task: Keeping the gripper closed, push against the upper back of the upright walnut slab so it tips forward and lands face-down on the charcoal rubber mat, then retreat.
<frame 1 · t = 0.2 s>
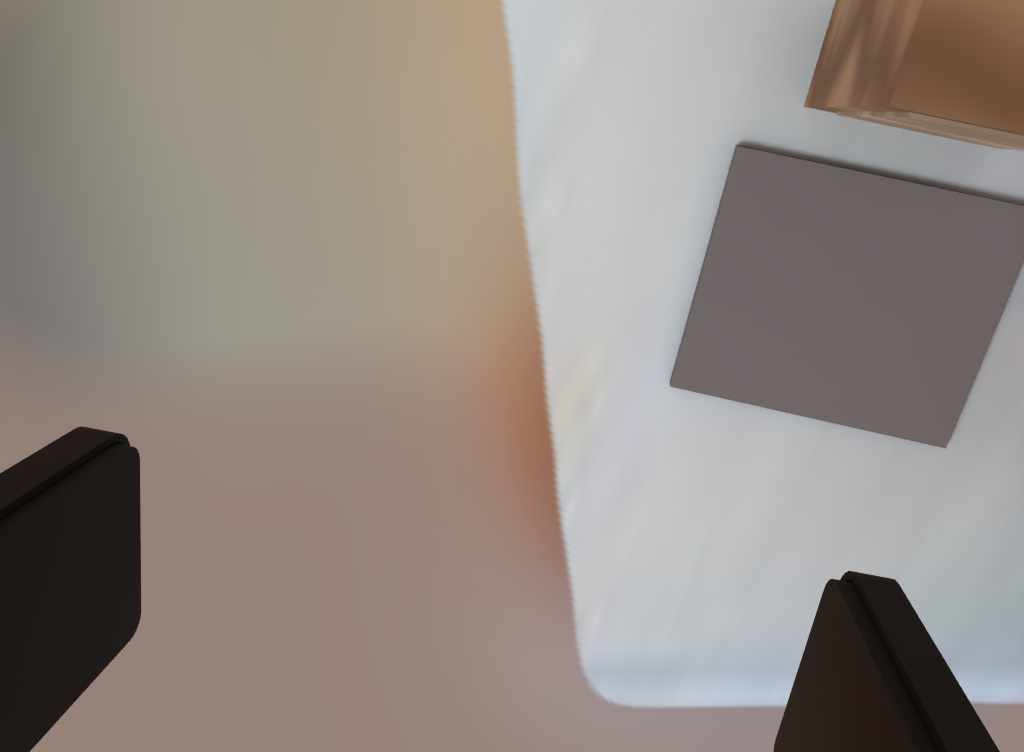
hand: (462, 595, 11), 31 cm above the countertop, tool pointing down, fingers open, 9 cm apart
mat: (842, 300, 39), on the countertop
slab: (920, 74, 36), on the countertop
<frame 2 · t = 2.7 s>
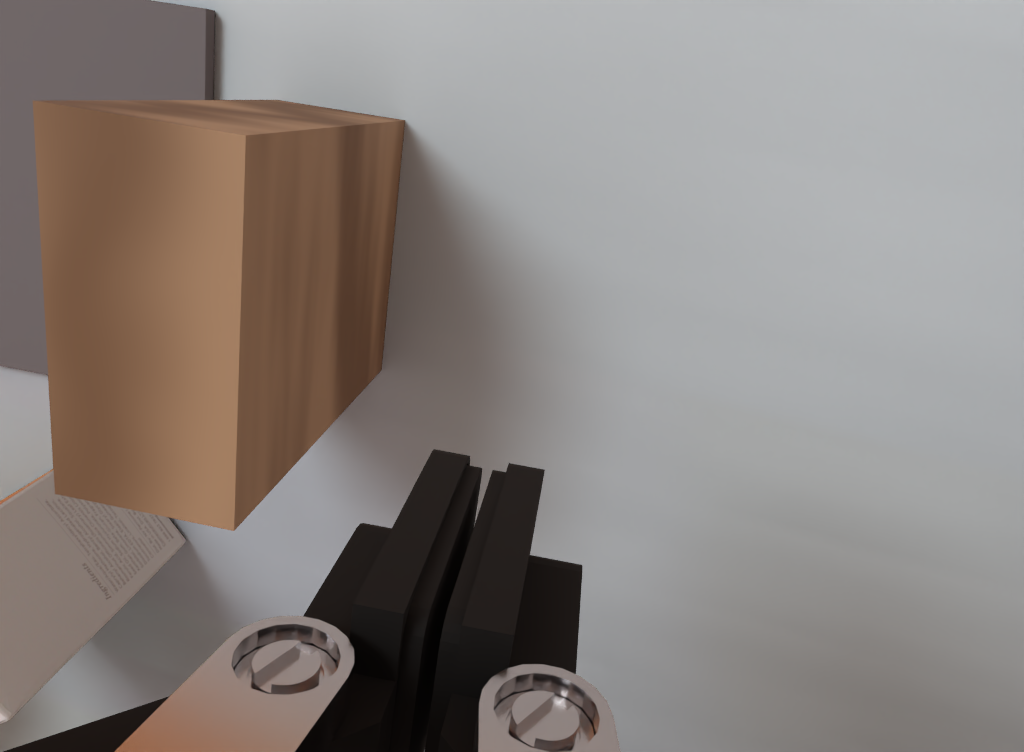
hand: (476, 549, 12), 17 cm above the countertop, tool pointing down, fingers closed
mat: (56, 193, 30), on the countertop
slab: (331, 241, 29), on the countertop
small box: (87, 523, 35), on the countertop
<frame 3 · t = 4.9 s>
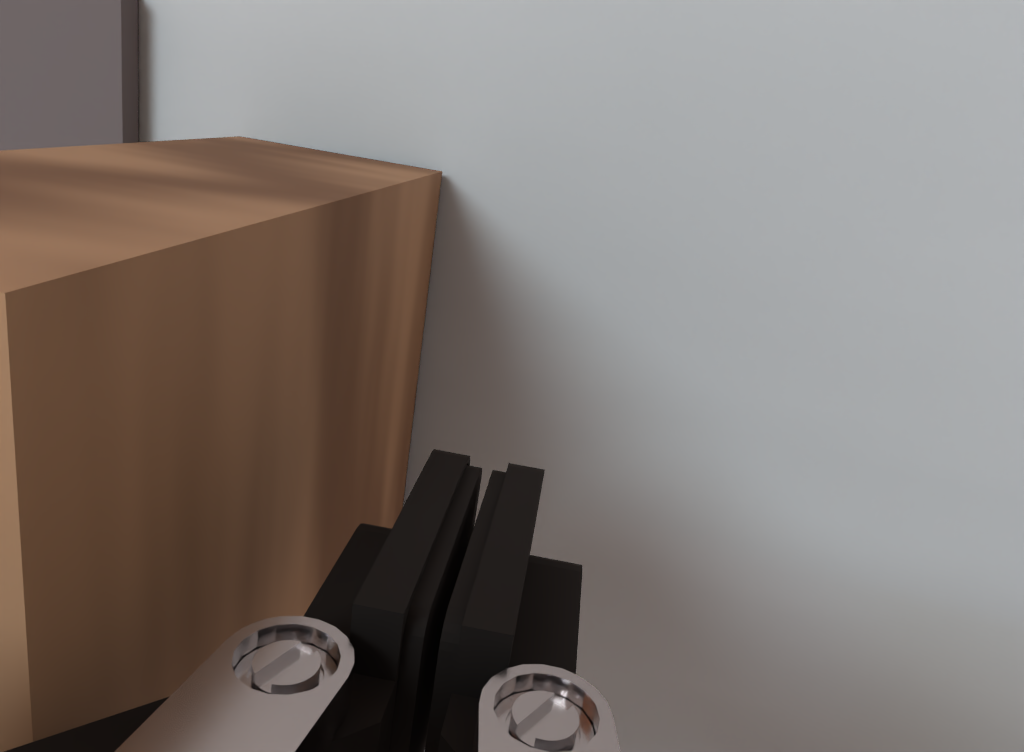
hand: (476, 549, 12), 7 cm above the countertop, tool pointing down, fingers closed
slab: (324, 354, 19), on the countertop, touching gripper
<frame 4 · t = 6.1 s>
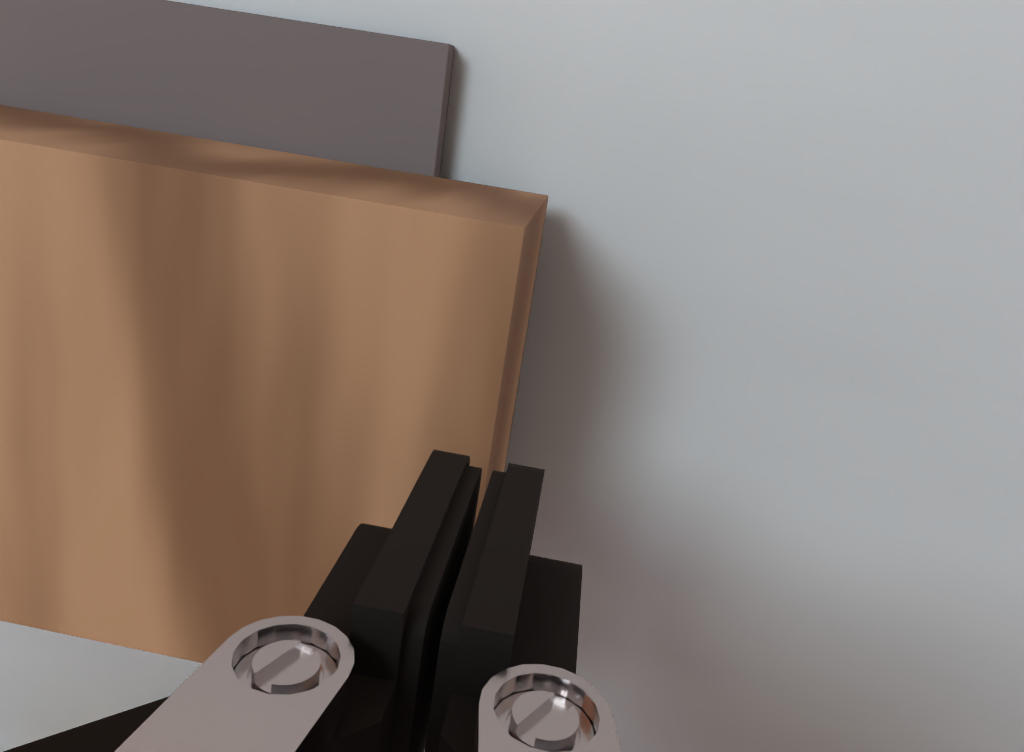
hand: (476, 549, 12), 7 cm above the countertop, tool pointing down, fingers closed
mat: (166, 327, 19), on the countertop
slab: (501, 444, 15), point 3 cm above the countertop, tilted 90°, touching mat
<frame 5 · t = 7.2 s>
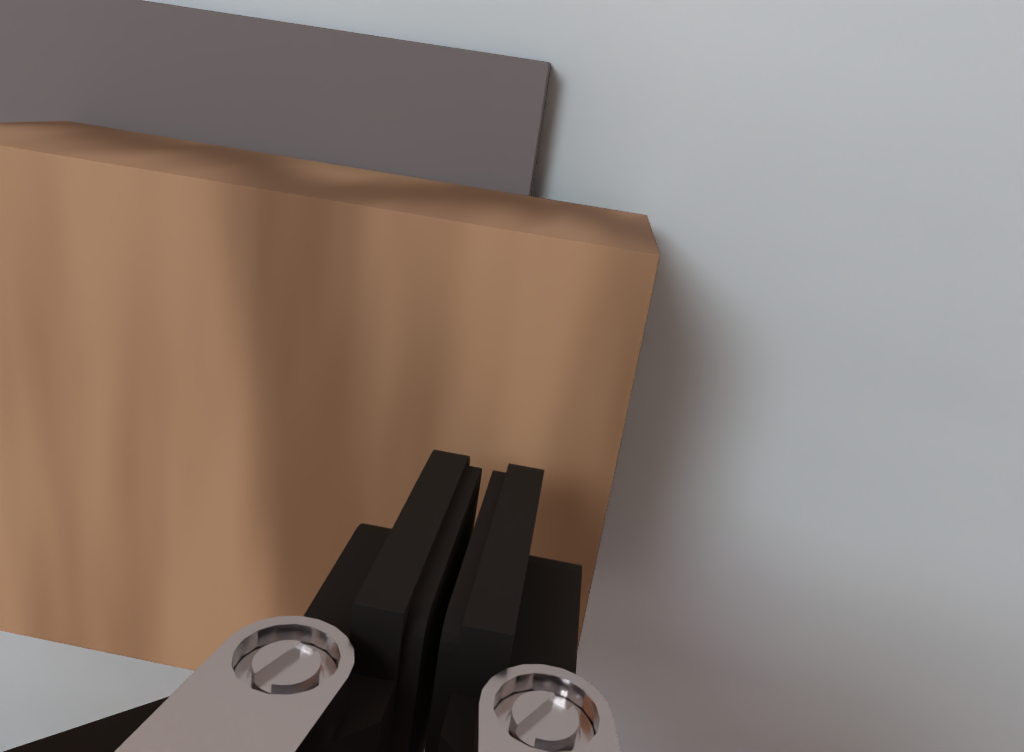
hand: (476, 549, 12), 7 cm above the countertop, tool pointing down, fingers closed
mat: (244, 347, 19), on the countertop
slab: (604, 469, 15), point 3 cm above the countertop, tilted 90°, touching mat
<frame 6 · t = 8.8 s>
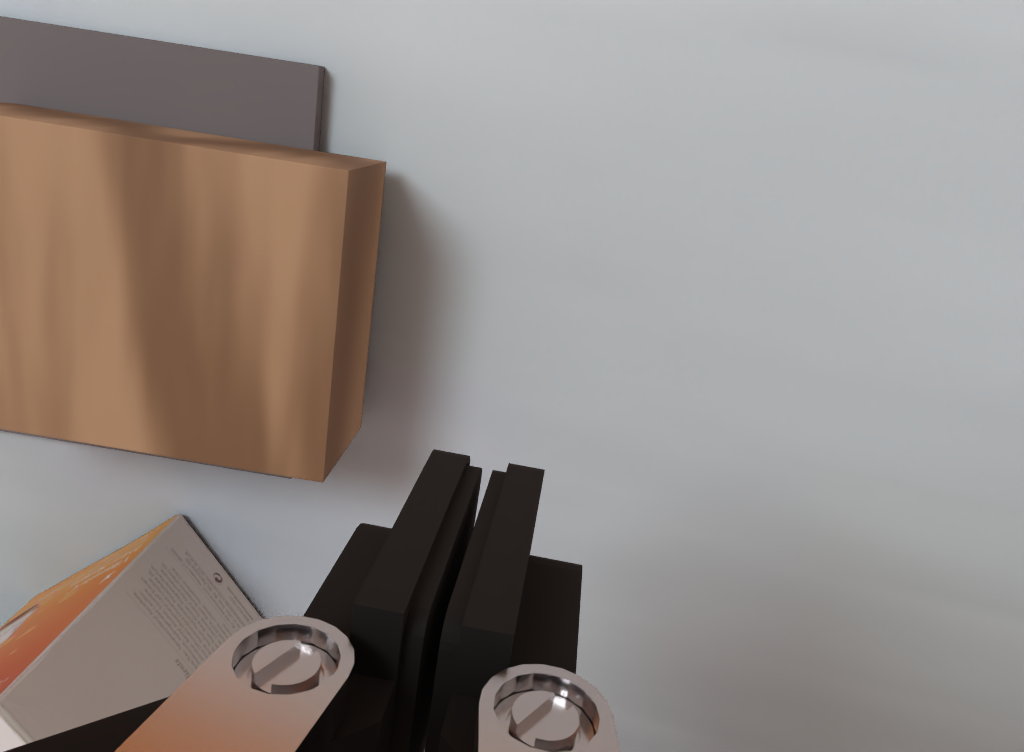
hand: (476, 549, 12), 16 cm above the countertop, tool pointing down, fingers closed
mat: (136, 257, 27), on the countertop
slab: (355, 317, 24), point 3 cm above the countertop, tilted 90°, touching mat
small box: (151, 605, 32), on the countertop
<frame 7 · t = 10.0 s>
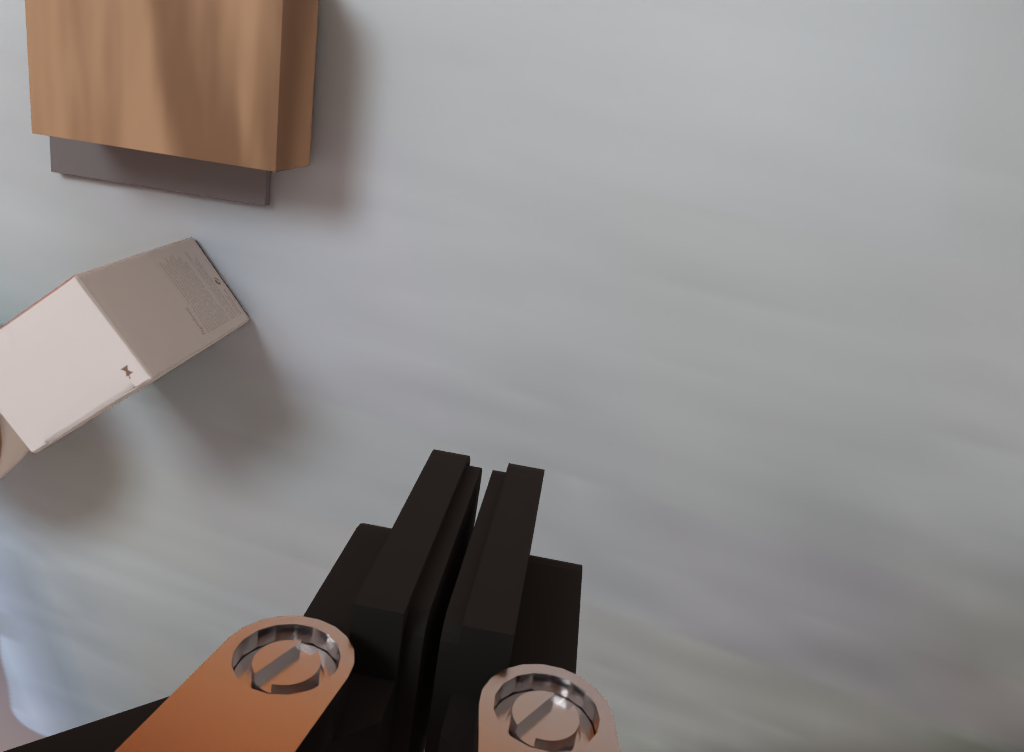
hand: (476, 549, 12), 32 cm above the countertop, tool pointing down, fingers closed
mat: (162, 50, 42), on the countertop
lidded jar: (0, 376, 49), on the countertop
slab: (298, 71, 38), point 3 cm above the countertop, tilted 90°, touching mat
small box: (173, 311, 46), on the countertop
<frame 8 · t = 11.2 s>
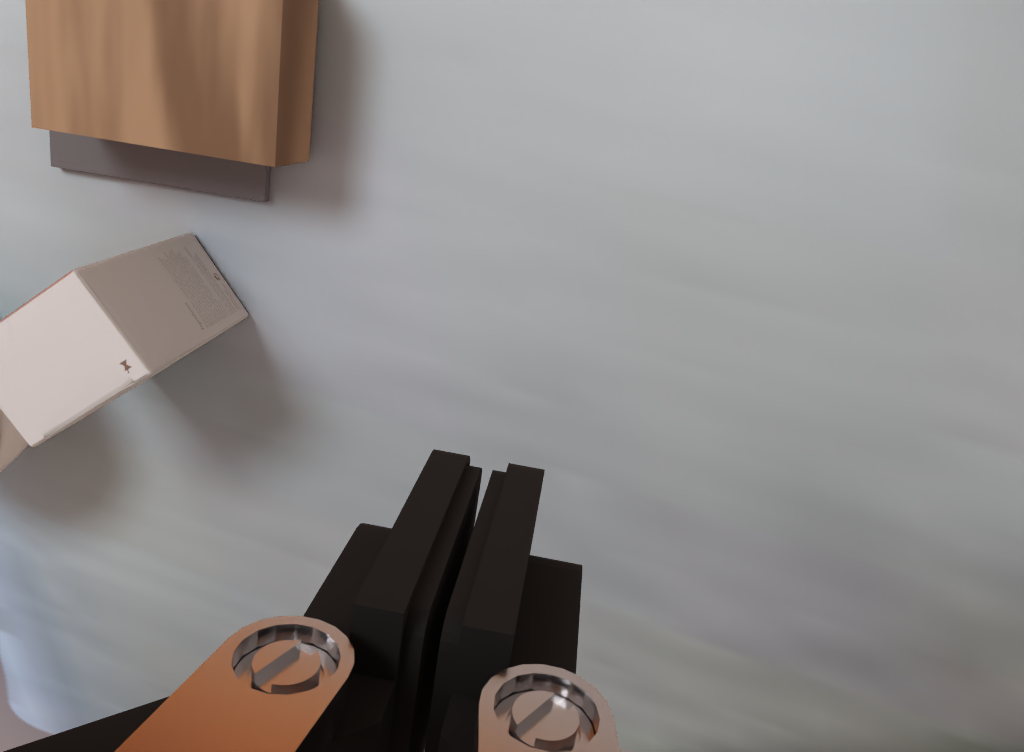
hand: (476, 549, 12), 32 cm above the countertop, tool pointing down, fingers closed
mat: (162, 45, 42), on the countertop
slab: (298, 67, 38), point 3 cm above the countertop, tilted 90°, touching mat
small box: (173, 306, 46), on the countertop
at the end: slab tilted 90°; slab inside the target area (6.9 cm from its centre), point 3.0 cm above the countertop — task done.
